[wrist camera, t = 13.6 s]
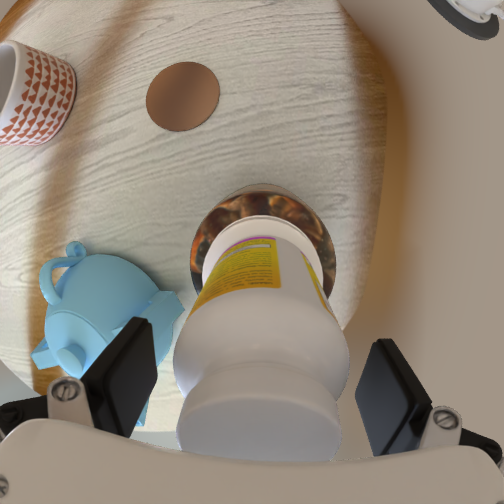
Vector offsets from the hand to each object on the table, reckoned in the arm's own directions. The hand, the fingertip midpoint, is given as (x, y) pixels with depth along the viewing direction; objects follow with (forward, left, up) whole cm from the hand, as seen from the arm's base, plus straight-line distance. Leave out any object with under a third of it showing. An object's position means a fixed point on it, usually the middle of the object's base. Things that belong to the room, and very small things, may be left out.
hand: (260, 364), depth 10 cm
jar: (0, 0, -24) cm, 24 cm away
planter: (+34, -18, -24) cm, 45 cm away
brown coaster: (+11, -16, -24) cm, 31 cm away
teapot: (+19, +13, -24) cm, 33 cm away
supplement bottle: (0, 0, -9) cm, 9 cm away
